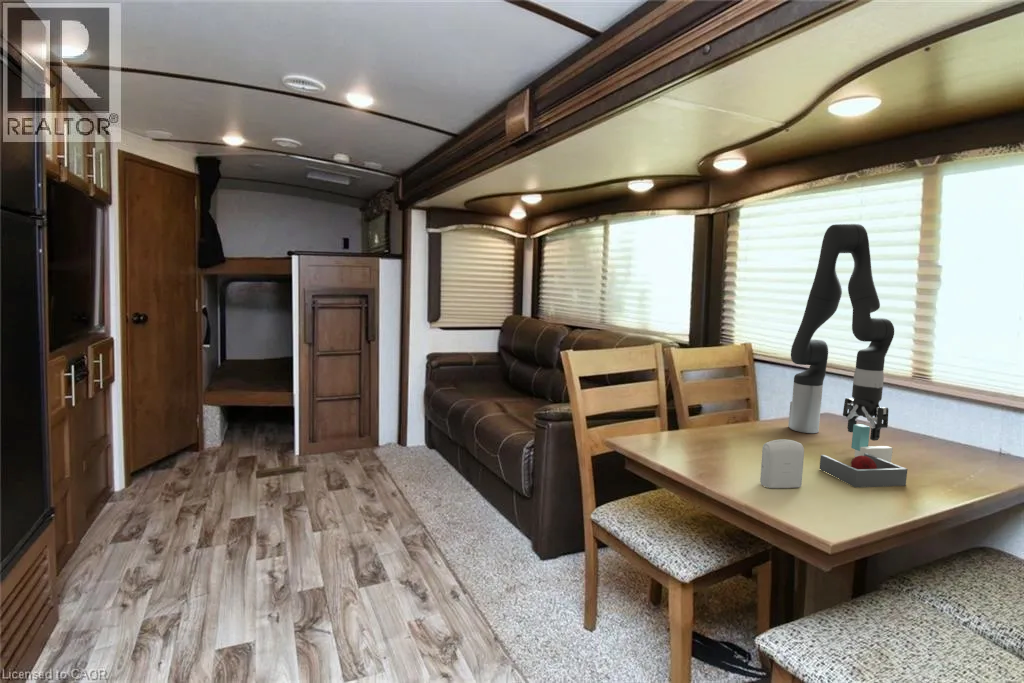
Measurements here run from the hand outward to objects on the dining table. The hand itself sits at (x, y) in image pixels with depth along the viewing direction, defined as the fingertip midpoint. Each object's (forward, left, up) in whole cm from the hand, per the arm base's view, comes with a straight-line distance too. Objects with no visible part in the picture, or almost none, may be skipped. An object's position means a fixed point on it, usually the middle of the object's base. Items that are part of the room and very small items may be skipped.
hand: (862, 435), depth 161 cm
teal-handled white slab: (+2, 0, -7) cm, 7 cm away
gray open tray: (+15, -14, -7) cm, 22 cm away
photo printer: (+19, -41, -7) cm, 46 cm away
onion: (+11, -13, -4) cm, 18 cm away
